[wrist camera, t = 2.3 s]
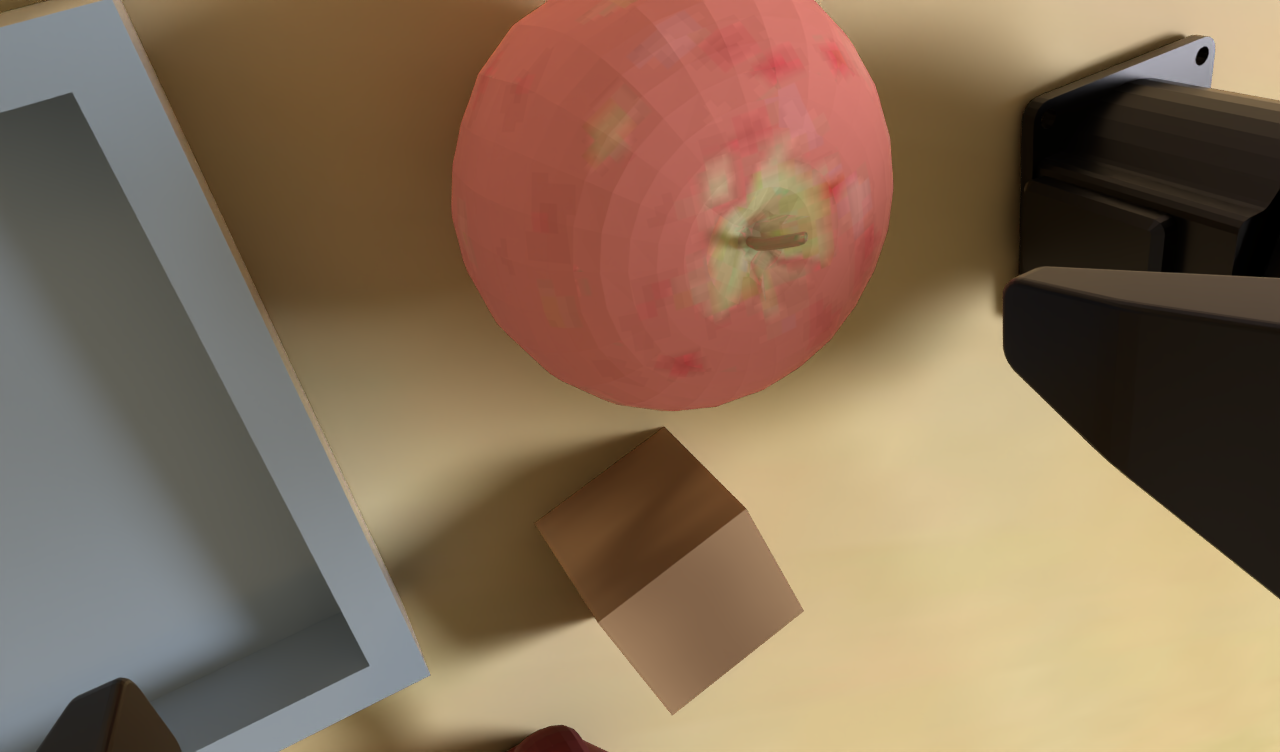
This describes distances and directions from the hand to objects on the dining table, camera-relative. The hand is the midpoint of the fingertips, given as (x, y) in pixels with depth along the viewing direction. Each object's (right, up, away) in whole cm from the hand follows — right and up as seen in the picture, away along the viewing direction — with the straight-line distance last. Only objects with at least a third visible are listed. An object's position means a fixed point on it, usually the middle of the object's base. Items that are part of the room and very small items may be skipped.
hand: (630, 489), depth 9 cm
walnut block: (0, -3, +16) cm, 16 cm away
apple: (-1, +6, +11) cm, 12 cm away
